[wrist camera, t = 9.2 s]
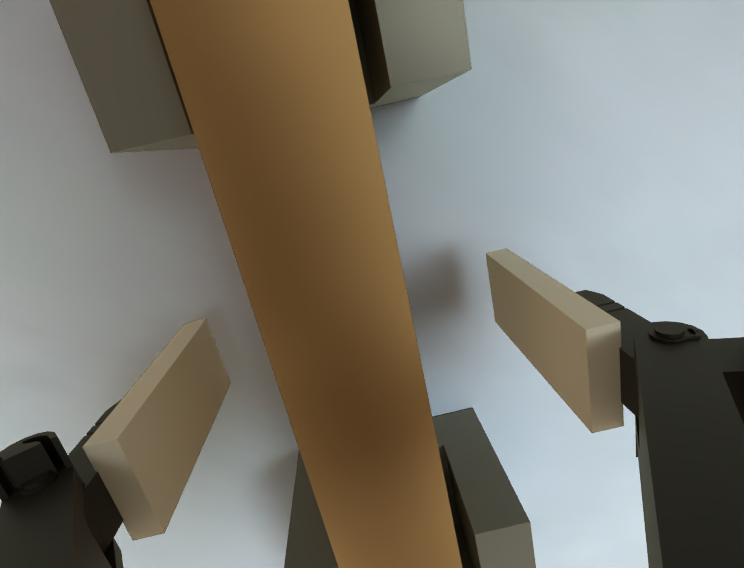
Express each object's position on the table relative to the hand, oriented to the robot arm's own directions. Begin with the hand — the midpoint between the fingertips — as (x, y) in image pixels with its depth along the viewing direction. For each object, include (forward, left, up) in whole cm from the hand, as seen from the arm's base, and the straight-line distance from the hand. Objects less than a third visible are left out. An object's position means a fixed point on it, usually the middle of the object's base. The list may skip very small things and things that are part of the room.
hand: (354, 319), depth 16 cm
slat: (0, 0, -1) cm, 1 cm away
